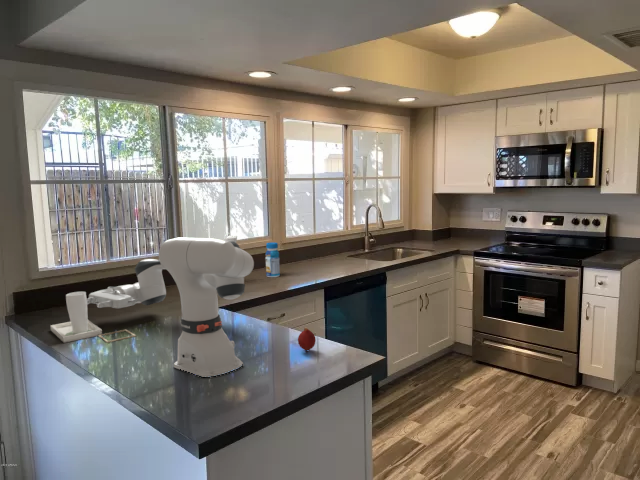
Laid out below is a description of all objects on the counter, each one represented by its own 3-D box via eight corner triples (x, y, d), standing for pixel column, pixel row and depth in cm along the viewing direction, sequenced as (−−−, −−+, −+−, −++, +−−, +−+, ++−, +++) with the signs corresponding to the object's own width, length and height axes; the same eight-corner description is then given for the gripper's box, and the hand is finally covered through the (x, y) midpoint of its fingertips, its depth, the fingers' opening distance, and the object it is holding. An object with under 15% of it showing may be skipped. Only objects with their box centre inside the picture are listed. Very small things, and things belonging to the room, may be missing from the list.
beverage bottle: (277, 277, 278) (276, 244, 276) (264, 277, 280) (262, 243, 277) (281, 274, 286) (280, 242, 284) (268, 274, 288) (267, 242, 286)
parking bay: (136, 336, 175) (135, 335, 175) (107, 342, 168) (107, 341, 168) (126, 330, 182) (126, 329, 182) (98, 336, 176) (98, 335, 176)
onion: (306, 346, 160) (305, 323, 159) (319, 350, 157) (318, 326, 156) (294, 351, 156) (294, 328, 155) (307, 355, 152) (307, 331, 151)
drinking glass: (68, 336, 174) (63, 296, 172) (73, 330, 181) (68, 292, 179) (88, 333, 176) (83, 294, 174) (92, 328, 182) (87, 290, 180)
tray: (102, 334, 177) (101, 329, 177) (63, 342, 169) (63, 337, 169) (86, 323, 192) (86, 318, 192) (50, 330, 184) (50, 325, 184)
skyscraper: (222, 281, 269) (220, 233, 266) (236, 280, 273) (234, 232, 269) (226, 284, 262) (224, 234, 258) (240, 283, 265) (238, 233, 262)
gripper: (139, 307, 188) (107, 315, 176) (109, 300, 199) (77, 308, 188) (138, 291, 187) (106, 299, 175) (108, 286, 198) (76, 292, 187)
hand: (90, 303), depth 182 cm, fingers open, 8 cm apart
